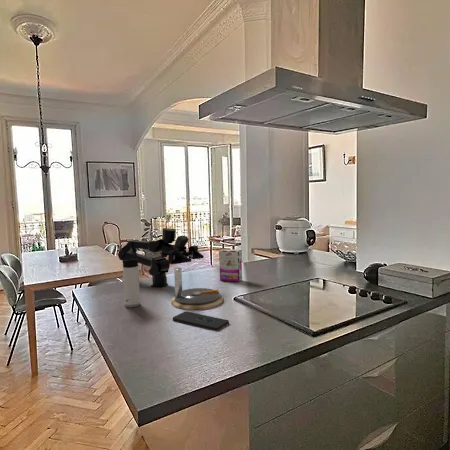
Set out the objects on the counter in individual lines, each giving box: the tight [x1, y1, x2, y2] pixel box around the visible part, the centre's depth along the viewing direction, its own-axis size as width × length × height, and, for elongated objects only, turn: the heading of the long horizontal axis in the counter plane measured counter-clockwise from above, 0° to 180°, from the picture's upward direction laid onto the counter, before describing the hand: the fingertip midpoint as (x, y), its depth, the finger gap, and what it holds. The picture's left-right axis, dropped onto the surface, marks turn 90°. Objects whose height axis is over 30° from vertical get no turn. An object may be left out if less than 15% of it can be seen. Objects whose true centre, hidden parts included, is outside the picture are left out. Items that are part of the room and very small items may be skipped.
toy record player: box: [173, 267, 220, 305], centre depth 150 cm, size 20×19×14 cm
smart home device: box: [172, 311, 230, 332], centre depth 126 cm, size 8×2×20 cm
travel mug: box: [122, 259, 141, 308], centre depth 146 cm, size 6×7×20 cm
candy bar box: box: [218, 248, 243, 283], centre depth 183 cm, size 11×5×16 cm, turn 68°
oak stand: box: [170, 293, 223, 311], centre depth 150 cm, size 22×22×1 cm
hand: (197, 258), depth 162 cm, fingers open, 9 cm apart
